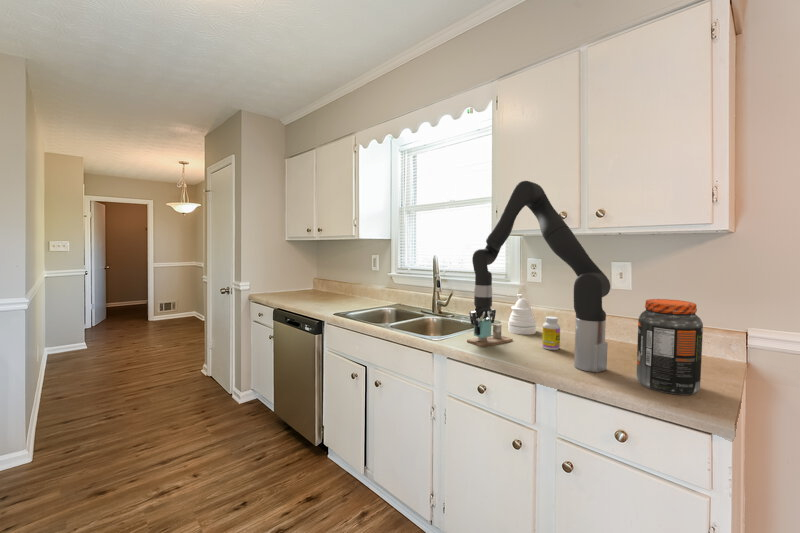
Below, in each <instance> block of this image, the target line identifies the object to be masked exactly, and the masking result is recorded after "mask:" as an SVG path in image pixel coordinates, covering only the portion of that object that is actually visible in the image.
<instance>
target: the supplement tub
mask: <svg viewBox="0 0 800 533" xmlns="http://www.w3.org/2000/svg"><path fill="white" fill-rule="evenodd" d="M644 308H645V310H643V311H642V312H641V313H640V315H639V317H638V319H637V320H638V322H637V347H636V348H637V352H636V379H637V381H638V382H639V383H640V384H641V385H643V386H644V387H646V388H648V389H651V390H653V391H658V392H660V393H664V394H665V393H666V394H673V395H679V396H680V395H681V396H683V395H684V396H686V395H687V396H688V395H693V394H696V393H697V392H699V391H700V388H701V376H702V357H703V356H702V355H703V336H704V335H703V334H704V333H703V332H704V323H703V321H702V319H701V317H699V316H698V315H697V314H696V313H697V311H698V310H697V304H696V303H695V302H693V301H692V302H691V301H686V300H679V299H669V298H665V299H664V298H653V299H646V300H645V305H644Z"/></svg>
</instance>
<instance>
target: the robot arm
mask: <svg viewBox="0 0 800 533" xmlns="http://www.w3.org/2000/svg"><path fill="white" fill-rule="evenodd" d="M525 207H527V208H529V210H530V211H531V213H533V215H534V216H535V218H536V219H537V221H538V224H539V228H540V229H539V230H540V233H541V235H542V237H543V239H544V241H545V242H546V243H547V245H548V246H549V248H550V249H551V251H552V252H553V253H554V254H555V255H556V256H557V257H559V258H560V259H561V260H562V261H563V262H565V263H566V264H567V265H568V266H569V267H570V268H571V269H572V270H573V272H574V274H575V275H576V276H577V277H576V279H574V280H575V281H574V283H573V310H574V312H575V331H574V332H575V333H574V361H573V362H574V365H573V366H574V367H575V368H576V369H578V370H582V371H585V372H591V373H597V374H598V373H600V372H603V371H607V369H608V346H609V345H608V342H607V341H606V324H607V322H606V321H607V313H606V311H605V310H604V309H603V298H605V297H606V296H608V294H609V293H610V290H611V282H610V280H609V278H608V277H607V275H606V274H605V273H604V271H602V270H601V269H600V268H599V266H597V264H596V263H595V262H594V261H593V260H592V258H590V256H589V253H587V251H586V250H585V248H584V247H583V246H582V244H581V243H580V242H579V240H578V239H577V237H576V235H575V234H574V233H573V231H572V230H571V228H570V227H569V225H568V224H567V223H566V222H565V221H564V219H563V218H562V216H561V215H560V214H559V213H558V212H557V211H556V209H555V207H553V205H552V203H551V201H550V200H549V197H548V196H547V194H546V192H545V191H544V189H543V187H542V186H541V185H539V184H538V183H536V182H532V181H529V180H522V181H520V182H518V183H517V184H516V186H515V187H514V188H513V190H512V191H511V194H510V196H509V199H508V201H507V203H506V205H505V207H504V209H503V212H502V213H501V215H500V217H499V219H498V221H497V223H496V224H495V225H494V227H493V228H492V230H491V232H490V233H489V234H488V236H487V238H486V240H485V242H486V246H485V247H484V248H480V249H477V250H475V251H474V252H473V254H472V260H471V262H472V266H473V272H474V275H475V280H474V292H473V294H474V296H473V297H474V298H473V300H474V302H473V306H474V308H475V309H474V311H469V320H470V324H471V326H473V327H474V326H475V334H476V335H480V322H482V321H483V320H487V321H491V324H495V321H496V320H495V319H496V314H497V310H496V309H493V308H491V307H492V306H493V285H492V284H493V276H492V275H493V274H492V272H491V271H489V267H488V266H490V265H491V264H493V263H494V262H495V260H497V257H498V255H499V253H500V251H501V248H502V247H503V245H504V244H505V243H506V241H507V240H508V238H509V237H510V235H511V233H512V230H513V229H514V225H515V221H516V218H518V215H519V214H520V212H521V211H522V210H523V208H525ZM477 321H478V324H477Z"/></svg>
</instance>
